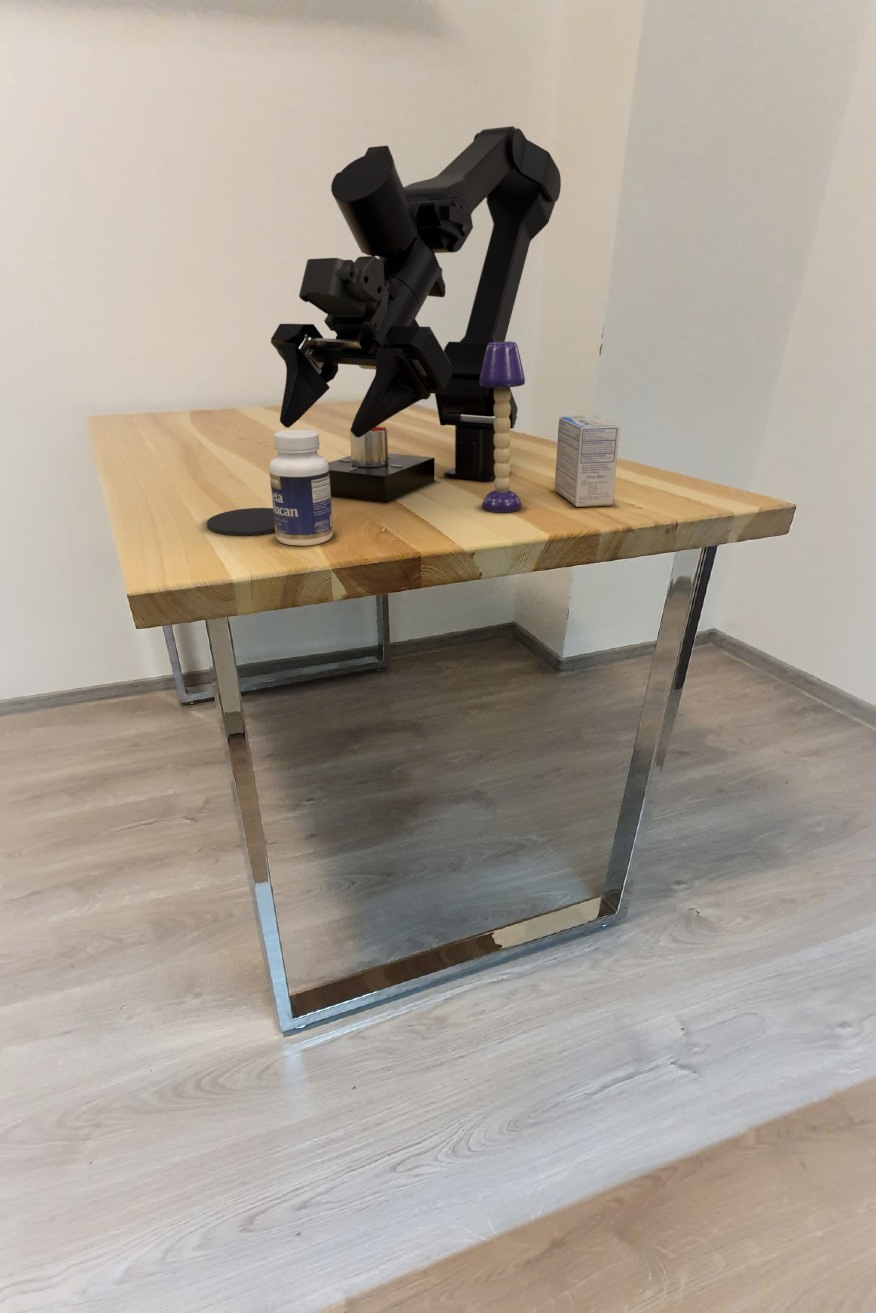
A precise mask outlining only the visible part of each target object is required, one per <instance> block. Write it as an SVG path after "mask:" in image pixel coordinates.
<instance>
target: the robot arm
mask: <svg viewBox="0 0 876 1313" xmlns="http://www.w3.org/2000/svg"><path fill="white" fill-rule="evenodd" d="M558 167H559V166H557V164H556V162H555V160H554V159H553V157H552V155H551V154H550V152H549V151H548V150H546V149H544V148H543V147H541V146H539V145H537V144H535V143H534V142H532V141H530V140H529V139H527V138H526V135H525V134H524V132H523V131H522V129H520V128H516V127H515V126H513V125H511V126H501V127H493V128H484V129H482V130H480V132H477V133H475V135H474V137H473V141H472V142H471V143H469V144H468V146H467V147H465V149H463V150H462V152H460V153H459V154H458V155H457V156H456V157H455V158H454V159H453V160H452V161H450V163H449V164H448V165H447V166H446V167H444V169H442V171H441V172H439V174H437V175H436V176H434V177H431V178H427V179H424V180H420V181H415V182H413V183H409V184H407V185H405V186H404V185H403V183H402V180H401V177H400V176H399V173H398V170H397V168H396V165H395V160H394V158H393V154H392V152H391V150H390V148H389V145H379V146H369V147H367V150H366V152H365V153H364V155H363V156H360V157H358V158H356V159H354V160H353V161H351V162H350V163H348V164H347V165H346V166H345V167H344V168H342V169H341V171H339V172H337V173H336V174H335V175H334V177H333V178H332V181H331V186H330V187H331V188H330V191H331V195H332V196H333V198H334V201H335V202H336V204H337V206H338V208H339V210H340V212H341V214H342V216H343V218H344V221H345V222H346V225H347V227H348V229H349V231H350V232H351V235H352V237H353V238H354V240H355V242H356V244H357V246H358V248H359V250H360V252H361V253H363V254H365V255H366V256H364V255H363V256H358V257H357V258H356V259H355V261H354V260H352V259H342V258H339V257H326V258H324V257H322V258H321V257H320V258H308V259H307V260H306V264H305V269H304V273H303V277H302V282H301V285H300V290H299V294H298V297H299V299H300V300H302V301H303V302H304V303H310V304H311V305H313V306H314V307H316V308H317V309H318V310H320V311H322V312H323V313H325V314H326V317H325V318H324V320H323V322H324V323H325V325H326V326H327V328H328V329H329V330H330V331H331V332H334V333H335V334H336V336H335V338H326V337H325V338H324V336H323V335H322V334H321V332H320V331H319V330H318V328H317V327H316V326H315V324H314V323H279V324H278V326H277V327H276V329H275V331H274V333H273V334H272V336H271V337H270V343H271V345H272V346H273V347H274V348H275V350H276V352H277V354H278V355H279V356H280V358H281V359H282V360H283V361H284V364H285V369H286V374H285V385H284V392H283V398H282V403H281V410H280V415H279V422H280V424H281V425H282V426H283V427H284V428H286V429H288V428H290V427H292V426H293V425H294V424H295V423H297V422H298V421H299V420H300V419H301V418H302V417H303V416H304V415H305V414H306V413H307V412H308V411H309V410H310V409H311V408H312V407H313V406H314V405H315V404H316V403H317V402H318V401H319V400H320V399H321V398H322V397H323V396H324V395H325V393H327V392H328V391H329V390H330V385H329V384H328V383H330V382H331V381H332V380H334V379H335V377H336V376H337V374H338V372H339V365H350V366H351V365H352V366H358V367H359V368H360V369H363V370H375V374H374V377H373V379H372V381H371V383H370V385H369V387H368V389H367V391H366V393H365V396H363V399H362V401H361V403H360V405H359V408H358V409H357V412H356V413H355V416H354V419H353V421H352V424H351V427H350V428H351V432H352V433H353V435H354V436H355V437H361V436H363V435H364V434H366V433H367V432H369V431H370V430H372V429H373V428H375V427H376V426H380V425H381V424H383V423H384V422H385V421H387V420H388V419H390V418H392V417H393V416H395V415H397V414H398V413H400V412H402V411H403V410H405V409H407V408H409V407H410V406H412V405H415V404H417V403H418V402H420V401H422V400H429V399H430V398H431V396H432V394H433V395H434V397H435V403H436V409H437V415H438V419H439V425H440V426H443V427H445V426H454V467H452V468H450V469H448V470H446V471H444V473H443V476H444V477H449V478H458V479H459V478H460V479H466V480H467V479H468V480H475V481H477V480H478V481H487V482H488V481H489V482H490V481H492V480H493V481H494V480H495V478H496V476H495V473H494V465H495V463H496V462H495V460H494V450H495V448H496V447H495V445H494V435H495V430H494V419H495V415H494V404H495V399H494V388H487V387H482V386H480V384H479V379H480V374H481V370H482V365H483V361H484V356H485V352H486V348H487V345H488V344H489V343H491V342H506V338H507V333H508V330H509V326H510V323H511V319H512V315H513V310H514V306H515V302H516V299H517V294H518V291H519V288H520V283H521V279H522V275H523V271H524V268H525V264H526V261H527V256H528V253H529V248H530V244H531V242H532V241H533V239H534V238H535V237H536V236H537V235H538V234H540V232H541V231H542V230H543V229H544V228H545V227H546V226H547V225H548V224H549V223H550V219H551V216H552V214H553V211H554V209H555V208H554V207H555V204H556V203H557V202H558V200H559V198H560V195H561V189H562V188H561V187H562V178H561V173H560V169H559V168H558ZM485 199H486V206H487V208H488V211H489V215H490V217H491V220H492V224H493V225H492V230H491V234H490V237H489V242H488V245H487V248H486V249H487V250H486V252H485V257H484V260H483V265H482V268H481V272H480V275H479V279H478V284H477V287H476V291H475V296H474V299H473V303H472V307H471V311H470V314H469V318H468V323H467V326H466V330H465V334H464V336H463V337H462V338H461V339H460V341H448V342H447V344H446V345H445V347H444V348H443V347H442V345H441V343H440V342H439V340H438V338H437V337H436V335H435V333H434V331H433V330H432V328H431V326H422V325H421V326H420V324H419V323H418V321H417V320H416V318H417V317H418V314H419V312H420V311H421V309H422V307H423V306H424V303H425V302H426V300H427V298H428V297H434V298H435V297H437V298H444V297H445V296H446V283H445V280H444V277H443V267H441V266H440V263H439V261H438V259H437V256H436V254H447V253H448V254H450V253H451V254H452V253H454V254H455V253H457V252H459V251H460V250H461V249H462V247H463V246H464V244H465V243H466V241H467V239H468V238H469V236H470V234H471V232H472V231H473V229H474V224H473V217H472V214H473V212H474V211H475V210H476V208H478V207H479V205H481V203H482V202H483V201H484V200H485ZM509 403H510V406H511V412H510V415H509V419H510V423H511V426H510V430H511V429H514V428H515V425H516V421H517V418H518V405H517V403H516V400H515V398H514V394H513V392H512V391H511V398H510V400H509Z"/></svg>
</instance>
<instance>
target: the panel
mask: <svg viewBox="0 0 876 1313" xmlns="http://www.w3.org/2000/svg"><path fill="white" fill-rule="evenodd" d="M388 454H389V464H388V465H385V466H381V467H357V466H354V465H352V463H351V455H348V456H345V457H342V458H339V459H335V460H332V461H329V462H328V466H329V477H330V493H331V497H336V498H344V499H349V500H350V499H351V500H359V501H366V502H373V503H374V502H375V503H381V504H387V503H390V502H391V501H394V500H396V499H398V498H401V497H403V496H405V495H408V494H410V493H413V492H414V491H417V490H419V489H422V488H423V487H426V486H429V485H431V484H433V483H435V482H436V480H435V479H436V477H435V476H436V475H435V474H436V473H435V472H436V471H435V470H436V469H435V468H436V467H435V466H436V464H435V462H436V461H435V459H436V458H435V457H431V456H422V455H412V454H402V453H391V452H388Z"/></svg>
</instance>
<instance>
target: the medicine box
mask: <svg viewBox="0 0 876 1313" xmlns="http://www.w3.org/2000/svg"><path fill="white" fill-rule="evenodd" d="M557 428H558V429H557V445H556V461H555V462H556V463H555V475H554V476H555V477H554V491H555V492H556V493H558V494H559V495H561V496H562V497H563V498H564V499H566V500H567V501H568V502H570V503H571V504H573V506H575V507H579V508H588V507H589V508H590V507H609V506H611V505H613V504H614V495H615V485H616V474H617V473H616V472H617V464H618V451H619V441H620V440H619V439H620V425H619V424H617V423H615V422H613V421H611V420H608V419H606V418H603V417H599V416H598V415H595V414H594V415H592V414H583V415H582V414H580V415H579V414H577V415H575V414H574V415H566V416H560V417H559V419H558V427H557Z"/></svg>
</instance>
